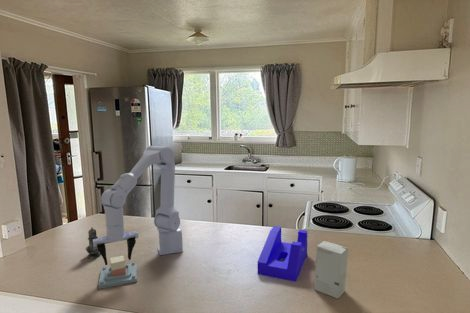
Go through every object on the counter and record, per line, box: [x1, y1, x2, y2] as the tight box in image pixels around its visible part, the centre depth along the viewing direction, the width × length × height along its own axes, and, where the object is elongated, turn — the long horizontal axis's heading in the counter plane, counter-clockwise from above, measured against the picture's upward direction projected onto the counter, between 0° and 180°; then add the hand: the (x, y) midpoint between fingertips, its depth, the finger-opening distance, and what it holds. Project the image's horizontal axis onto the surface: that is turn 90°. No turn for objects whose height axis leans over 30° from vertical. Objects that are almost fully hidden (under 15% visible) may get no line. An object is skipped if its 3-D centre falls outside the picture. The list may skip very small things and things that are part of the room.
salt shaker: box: [85, 227, 102, 259], centre depth 123 cm, size 6×6×12 cm
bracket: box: [257, 226, 308, 283], centre depth 114 cm, size 21×14×10 cm, turn 157°
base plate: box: [97, 261, 138, 289], centre depth 108 cm, size 12×12×2 cm
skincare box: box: [313, 240, 349, 299], centre depth 96 cm, size 8×6×15 cm
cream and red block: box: [109, 255, 126, 277], centre depth 107 cm, size 4×4×5 cm
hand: (117, 261), depth 107 cm, fingers open, 7 cm apart
